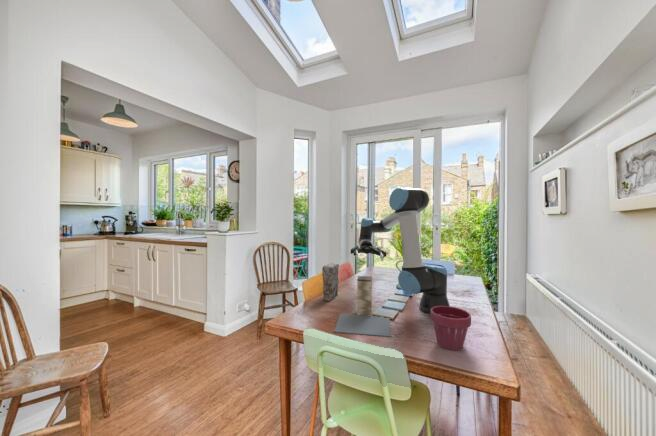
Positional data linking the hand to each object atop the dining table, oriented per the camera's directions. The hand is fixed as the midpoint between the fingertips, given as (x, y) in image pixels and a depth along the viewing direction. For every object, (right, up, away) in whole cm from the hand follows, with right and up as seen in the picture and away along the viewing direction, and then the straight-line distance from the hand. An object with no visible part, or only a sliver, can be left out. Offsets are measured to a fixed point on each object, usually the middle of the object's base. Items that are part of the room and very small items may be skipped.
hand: (369, 257), depth 143 cm
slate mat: (-6, -28, -22) cm, 36 cm away
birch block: (-4, -27, -8) cm, 29 cm away
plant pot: (+25, -28, -40) cm, 55 cm away
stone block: (-21, -27, +16) cm, 38 cm away
